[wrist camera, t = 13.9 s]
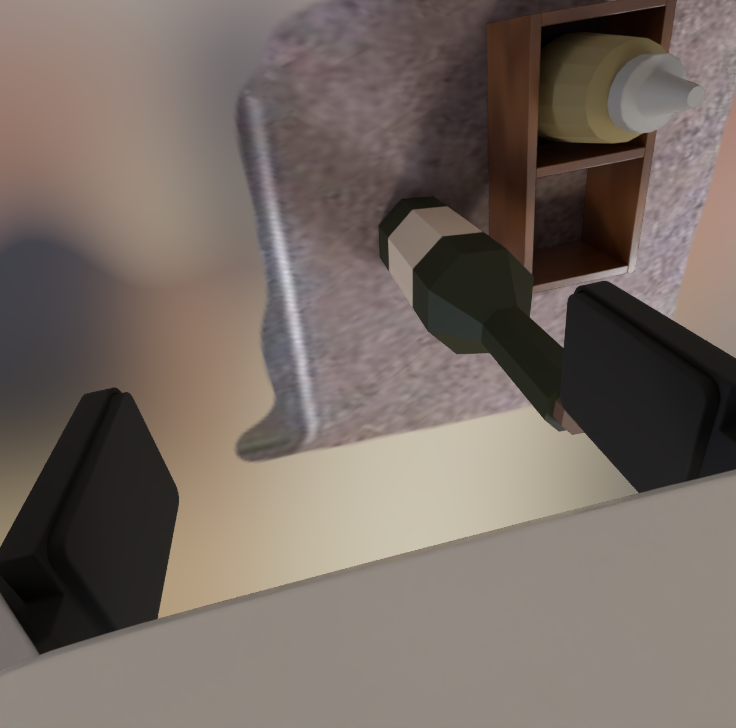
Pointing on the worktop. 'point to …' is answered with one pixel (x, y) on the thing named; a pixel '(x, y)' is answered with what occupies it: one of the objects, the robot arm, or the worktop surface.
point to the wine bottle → (473, 297)
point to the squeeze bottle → (609, 88)
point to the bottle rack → (565, 151)
